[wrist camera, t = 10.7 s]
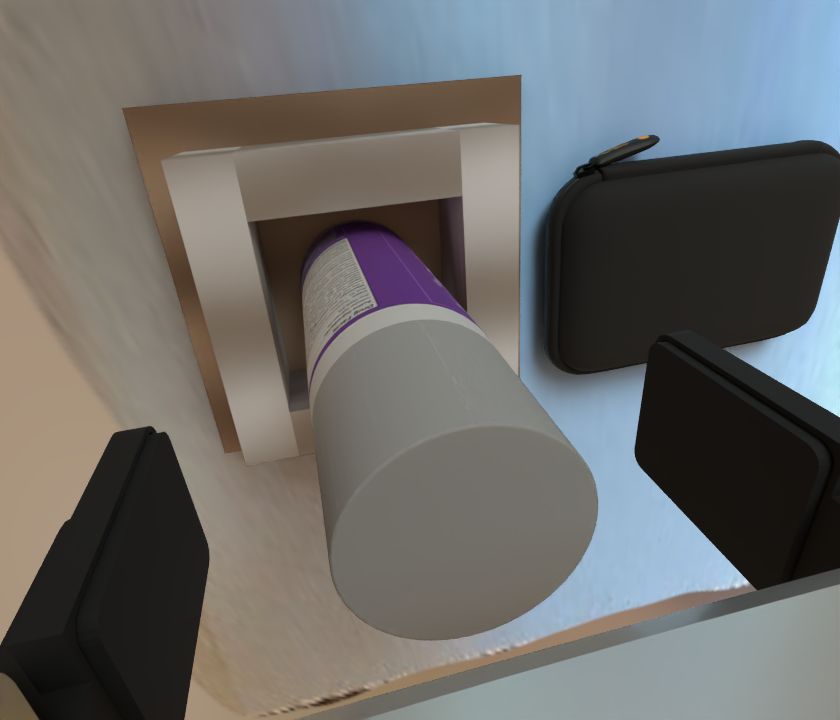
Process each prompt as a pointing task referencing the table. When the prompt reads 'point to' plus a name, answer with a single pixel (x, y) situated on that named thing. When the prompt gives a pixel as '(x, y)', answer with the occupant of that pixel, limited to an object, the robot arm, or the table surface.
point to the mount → (325, 223)
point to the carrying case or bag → (686, 249)
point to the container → (429, 449)
